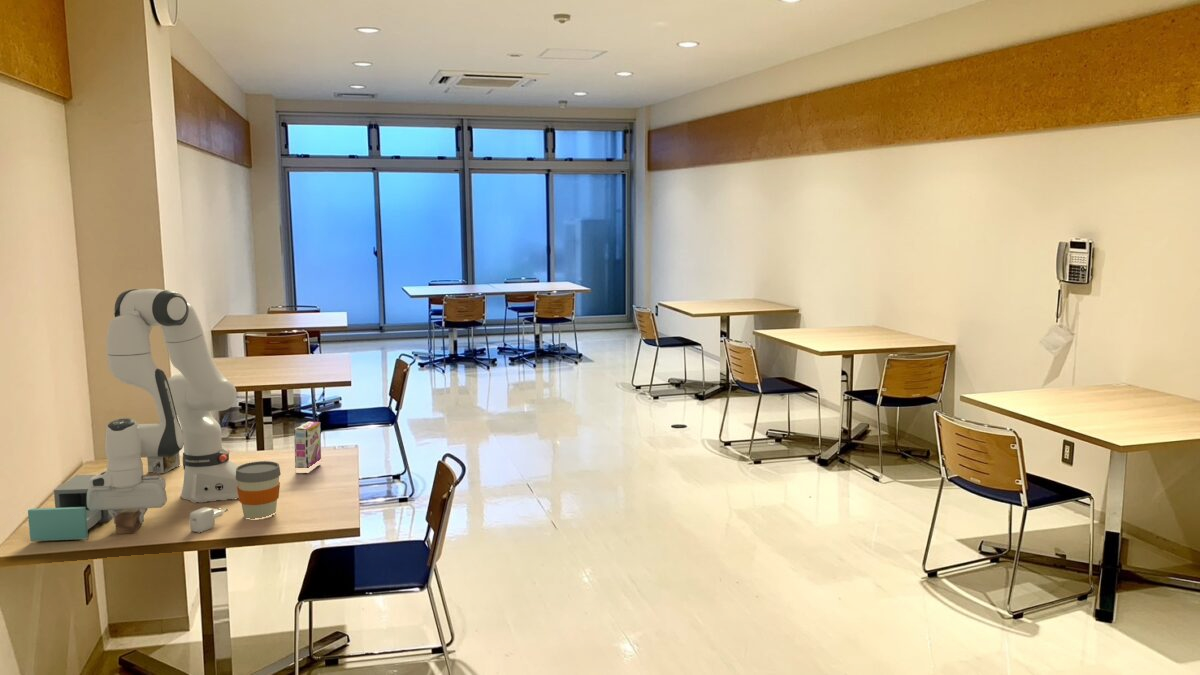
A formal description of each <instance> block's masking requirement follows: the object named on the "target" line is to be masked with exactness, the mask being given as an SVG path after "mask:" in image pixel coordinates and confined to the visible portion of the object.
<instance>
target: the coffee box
mask: <svg viewBox="0 0 1200 675" xmlns="http://www.w3.org/2000/svg"><path fill="white" fill-rule="evenodd" d="M159 423H160V422H158V423H157V424H159ZM180 458H181V457H180V451H179V452H178V453H177V454H175V455H174V456H172V457H158V456H153V457H146V461H147V472H153V473H152V474H160V473H164V474H166V473H168V471H169V470H171V469H173V468H175V467H177V466H179V465H180V466H181V460H180ZM180 466H179V467H180ZM177 468H178V467H177ZM175 469H176V468H175ZM173 470H174V469H173ZM171 471H172V470H171ZM155 472H156V473H155ZM165 472H166V473H165ZM169 472H170V471H169Z"/></svg>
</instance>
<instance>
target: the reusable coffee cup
mask: <svg viewBox="0 0 1200 675" xmlns="http://www.w3.org/2000/svg"><path fill="white" fill-rule="evenodd" d="M280 468H281V467H280V464H279V463H278V462H275V461H269V460H266V461H265V460H264V461H262V460H261V461H253V462H247V463H244V464H241V465H238V467H237V468H236V480H237V483H238V486H237V491H238V496H239V499H238V500H239V503H240V504H241V509H242V513H243V514H242V515H243V518H244V517H245V518H250V519H255V518H262V517H266V516H269V515H271V514H273V513H275V512H276V513H277V503H278V499H279V497H280V487H281V482H280V476H281V469H280ZM245 518H244V519H245Z"/></svg>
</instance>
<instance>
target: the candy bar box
mask: <svg viewBox="0 0 1200 675" xmlns="http://www.w3.org/2000/svg"><path fill="white" fill-rule="evenodd" d="M321 439H322V438H321V422H320V421H307V422H305V423H302V424H301V425H299V426H297V427H294V459H295V460H294V467H295V468H309V467H310V466H312V465H313V464H315V463H316V462H317V461H319V460H320V459H321V460H322V454H321V453H322V447H321V446H322V442H321ZM295 468H294V469H295Z"/></svg>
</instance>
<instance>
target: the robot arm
mask: <svg viewBox="0 0 1200 675" xmlns="http://www.w3.org/2000/svg"><path fill="white" fill-rule="evenodd" d="M113 315H114V317H113V318H112V319H111V320H110V322H109V324H108V328H107V339H106V354H107V355H106V357H107V365H108V369H109V373H111V375H112V376H113V377H114V378H115V379H117V380H118V381H120V383H121V382H122V383H123V384H125V385H129V386H131V387H132V386H133V387H136V388H139V389H142V390H144V391H145V392H147V393H149V394H150V395H151V396H152V398H153V400H154V403H155V409H156V411H157V412H156V413H157V415H158V419H159V422H158V423H159V424H158V423H138V422H137V421H136V419H134V418H130V417H129V418H126V417H124V418H119V419H115V420H113V421H110V422H109V423H108V424H107V425H106V429H105V440H104V441H105V442H104V444H105V446H104V448H105V456H106V457H107V464H106V470H105V471H101V472H99V473H97V474H94V475H95V476H94V477H92V478H91V479H90V480H89V486H90V488H89V489H88V491H87V508H88V509H89V510H108V511H109V514H110V516H111V517H112V518H113V519H112V520H113V525H115V516H116V515H117V513H116V512H115V511H116V510H117V509H140V512H142V513H141V515H138V516H137V517H136V520H137V521H136V523H144V522H145V515H146V512H147V511H148V509H156V508H157V509H158V508H163V507H164V506H165V505H166V503H168V496H167V490H166V486H167V484H166V479H165V478H164V477H162V476H160V475H159V474H156V475H155V474H154V475H144V465H143V464H144V463H143V460H142V458H147V457H153V456H158V457H172V456H174V455H175V454H177V453H178V452H179V453H180V451H181V450H182V449H183V452H182V467H183V470H184V472H183V473H184V474H183V484H182V490H181V492H180V497H181V498H182V499H184V500H188V501H191V503H193V502H194V503H195V504H197V503H196V502H199V503H207V501H210V502H217V501H216V500H221V501H228V500H227V499H232V500H236V499H235V498H239V496H238V491H237V486H238V483H237V480H236V468H237V467H238V466H239V465H238V464H236V463H235V462H233V461H232V460H230V456H229V455H230V450H229V449H228V450H225V449H224V448H223V447H222V446H223V441H222V427H221V425H220V423H219V422H218V421H217V420H216V419H215V418H214V416H213V414H212V412H213V413H215V412H221V411H226V410H230V409H231V407H233V405H234V404H235V402H236V399H237V389H236V387H235V385H234V384H233V383H232V382H231V381H230V380H229V379H227V377H226V376H224V375H223V373H222V372H221V370H220V369H219V367H218V366H217V364H216V362H215V361H214V359H213V357H212V356H211V353H210V350H209V346H208V344H207V340H206V337H205V333H204V331H203V327H202V324H201V320H200V318H199V316H198V314H197V312H196V310H195V308H194V306H193V305H192V304H190V303H189V302H187V300H186V298H185V297H184V296H183V295H182V294H181V293H180V292H177V291H174V290H170V289H158V288H146V289H143V288H142V289H138V288H134V289H128V290H125V291H123V292H121V293H120V294H119V295H118V297H117V298H116V300H115V304H114V313H113ZM153 327H160V328H161V330H162V331H161V332H162V334H163V336H162V337H163V340H164V343H165V346H166V350H167V353H168V356H169V357H168V358H169V360H170V362H171V364H172V366H173V367H174V368H176V369H177V370H178V371H179V372H180V374H174V375H172V376H170V377H169V378H167V375H166V373H165V371H163V370H162V369H161V368H158V366H157V365H156V364H155V361H154V359H153V356H152V349H151V348H152V346H151V339H150V334H151V331H152V329H153Z"/></svg>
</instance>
